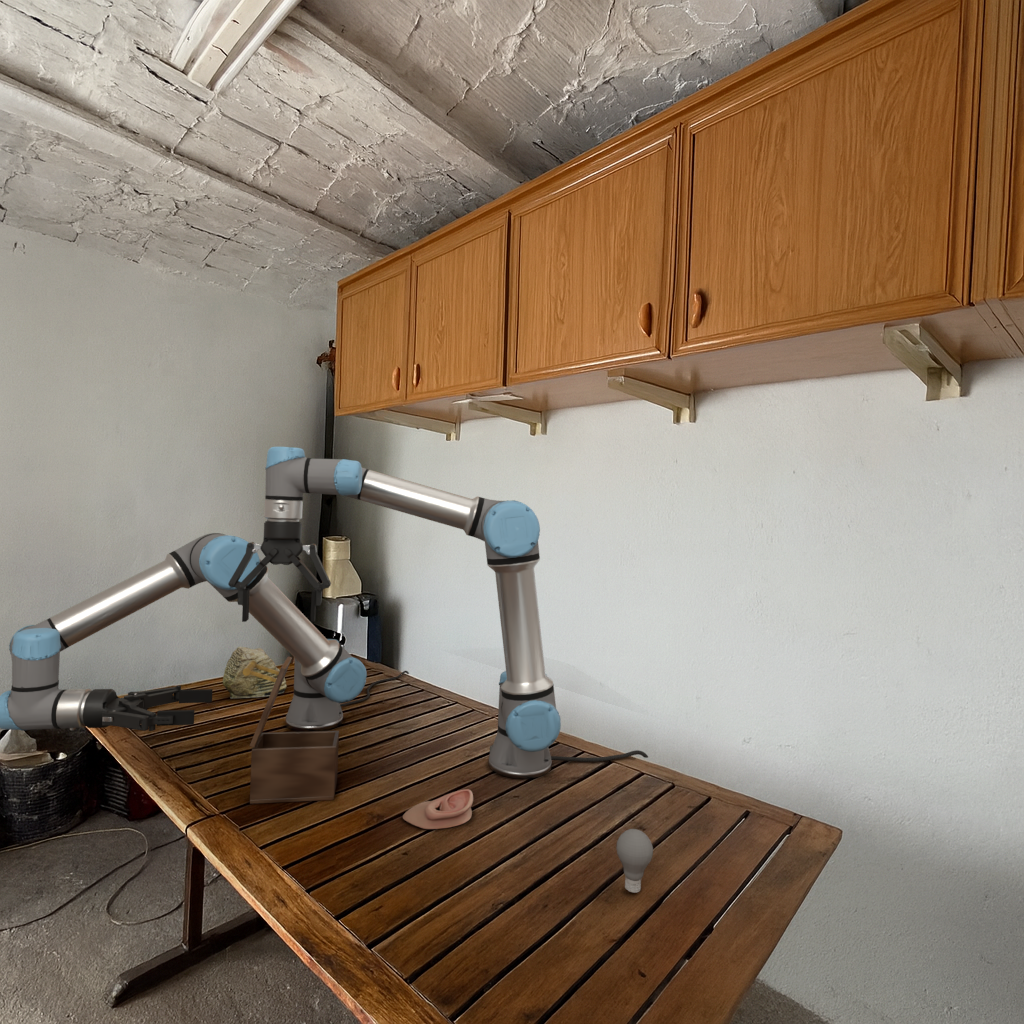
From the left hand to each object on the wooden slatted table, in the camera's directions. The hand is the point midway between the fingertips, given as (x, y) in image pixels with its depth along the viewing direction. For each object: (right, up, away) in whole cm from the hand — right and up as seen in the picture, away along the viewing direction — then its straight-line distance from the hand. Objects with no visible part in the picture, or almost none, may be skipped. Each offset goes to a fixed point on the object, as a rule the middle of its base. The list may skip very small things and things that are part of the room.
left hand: (203, 706), depth 131 cm
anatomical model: (+49, -21, -4) cm, 54 cm away
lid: (+14, 0, +3) cm, 14 cm away
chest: (+18, -20, +4) cm, 27 cm away
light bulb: (+84, -23, -26) cm, 91 cm away
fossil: (-17, -17, +67) cm, 71 cm away
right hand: (+15, +17, +3) cm, 23 cm away
